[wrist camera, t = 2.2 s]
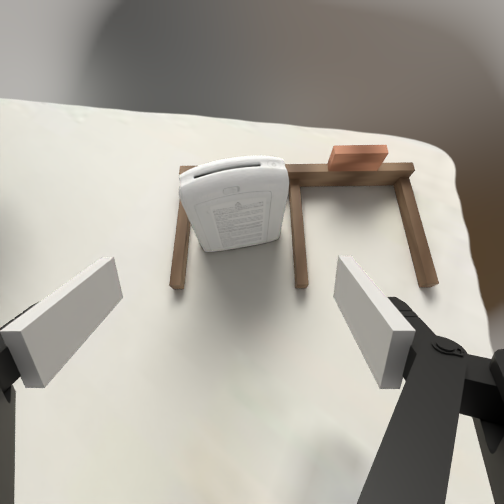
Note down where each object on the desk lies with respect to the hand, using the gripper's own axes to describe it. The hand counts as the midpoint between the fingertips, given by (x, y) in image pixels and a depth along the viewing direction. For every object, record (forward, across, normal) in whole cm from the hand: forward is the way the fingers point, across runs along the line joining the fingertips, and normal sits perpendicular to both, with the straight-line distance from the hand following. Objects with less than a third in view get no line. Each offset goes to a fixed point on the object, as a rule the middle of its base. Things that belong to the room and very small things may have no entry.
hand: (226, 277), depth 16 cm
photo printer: (+18, 0, -3) cm, 18 cm away
